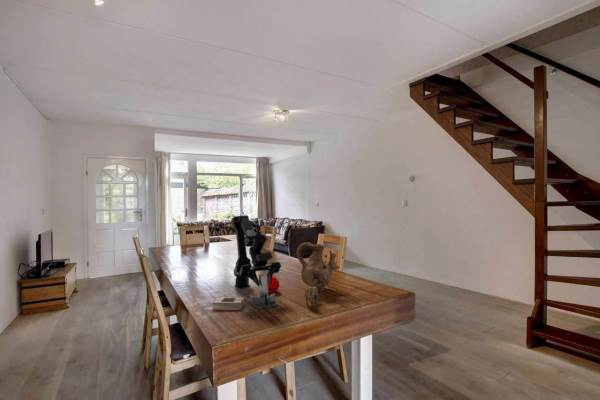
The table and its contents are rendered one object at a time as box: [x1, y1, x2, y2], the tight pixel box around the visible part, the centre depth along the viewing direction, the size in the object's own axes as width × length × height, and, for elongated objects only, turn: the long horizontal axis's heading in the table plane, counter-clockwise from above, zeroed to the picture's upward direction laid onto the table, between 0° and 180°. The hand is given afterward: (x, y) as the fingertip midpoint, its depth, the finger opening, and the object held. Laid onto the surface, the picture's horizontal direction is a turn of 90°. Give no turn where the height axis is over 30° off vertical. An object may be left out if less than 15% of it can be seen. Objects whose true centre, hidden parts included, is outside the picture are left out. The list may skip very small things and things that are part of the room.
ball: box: [268, 275, 280, 294], centre depth 158 cm, size 8×8×8 cm
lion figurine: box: [303, 286, 321, 307], centre depth 139 cm, size 15×5×9 cm, turn 166°
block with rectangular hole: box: [212, 296, 245, 311], centre depth 134 cm, size 8×12×3 cm, turn 90°
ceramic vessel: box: [296, 241, 340, 292], centre depth 161 cm, size 18×19×25 cm
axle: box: [258, 273, 269, 302], centre depth 138 cm, size 4×4×12 cm
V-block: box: [249, 293, 279, 310], centre depth 138 cm, size 10×11×4 cm
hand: (265, 284), depth 136 cm, fingers open, 6 cm apart
